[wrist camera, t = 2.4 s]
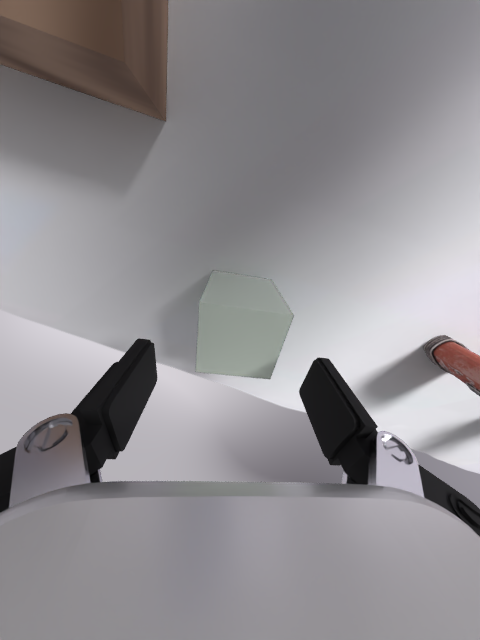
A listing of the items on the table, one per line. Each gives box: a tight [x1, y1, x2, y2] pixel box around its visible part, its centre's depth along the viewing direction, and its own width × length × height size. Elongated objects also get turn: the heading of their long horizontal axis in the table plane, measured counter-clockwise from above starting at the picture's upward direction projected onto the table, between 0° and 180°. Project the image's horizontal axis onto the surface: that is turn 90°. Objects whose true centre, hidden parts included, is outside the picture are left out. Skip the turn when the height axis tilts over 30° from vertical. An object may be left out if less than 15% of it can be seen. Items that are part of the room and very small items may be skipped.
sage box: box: [195, 270, 294, 379], centre depth 14 cm, size 6×6×7 cm
